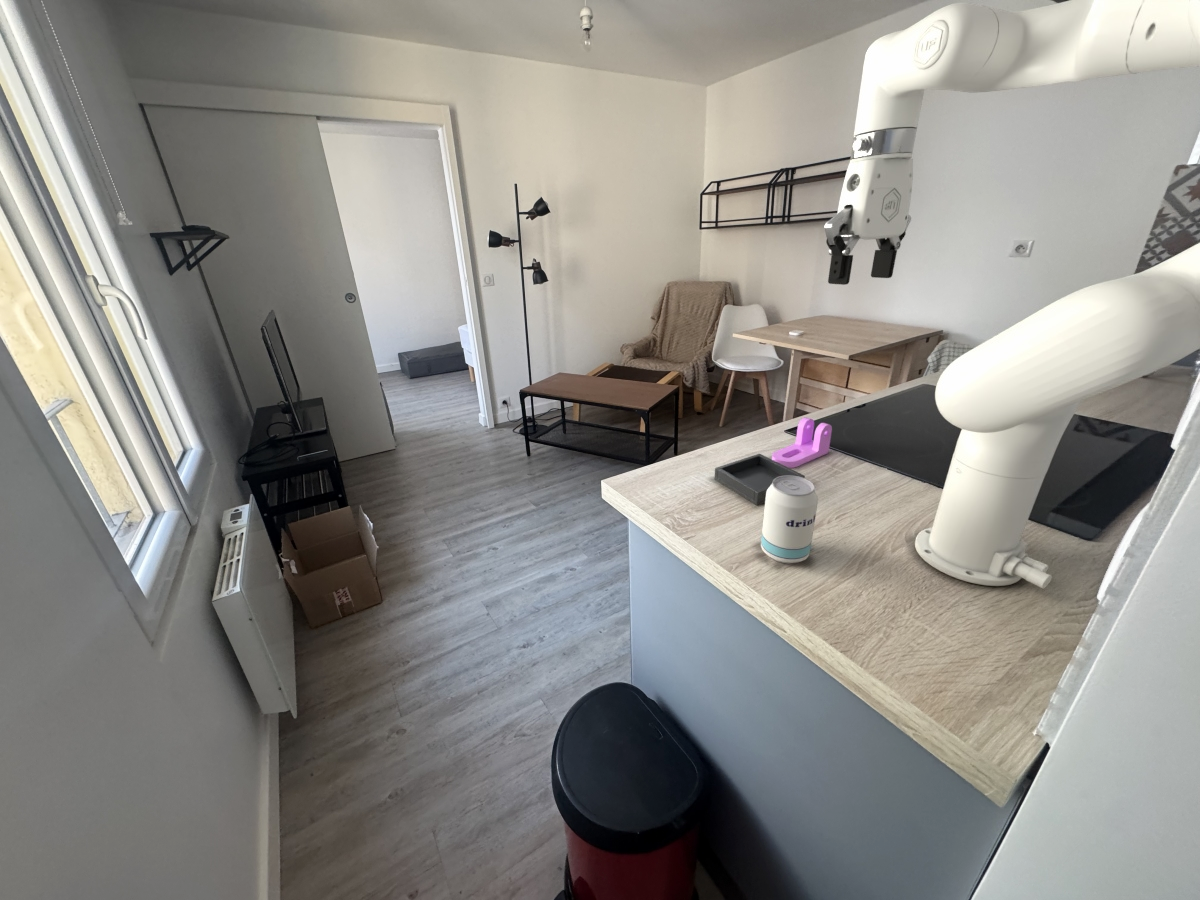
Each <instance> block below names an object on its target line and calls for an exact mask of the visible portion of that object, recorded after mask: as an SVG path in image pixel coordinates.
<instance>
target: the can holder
mask: <svg viewBox="0 0 1200 900" xmlns="http://www.w3.org/2000/svg"><path fill="white" fill-rule="evenodd" d="M785 475H792V476H799V477H802V478H805V479H806V475H804V474H802V473H801V472H798V471H796V470H795V469H793V468H788V467H786V466H784V465H782V464H780V463H778V462H776V461H774V460H772V458H769V457H768V456H765V455H764V454H761V453H757V454H755V455H751V456H747V457H745V458H741V459H739V460H738V459H737V460H736V461H732V462H729V463H727V464H722V465H719V466H717V467H715V468H714V480H715V481H717V482H718V483H720V484H721V485H723V486H724V487H727V488H728V490H731V491H733V492H734V493H735V494H737V495H739V496H741V497H743V499H745V500H747V501H749V502H751V503H752V504H754V505H755V506H760V505H762V504H765V500H766V491H767V489H768V488H769V487H770V486H771V484H772V482H773V480H774V479H775V478H777V477H779V476H785Z"/></svg>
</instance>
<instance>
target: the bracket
mask: <svg viewBox="0 0 1200 900" xmlns="http://www.w3.org/2000/svg"><path fill="white" fill-rule="evenodd" d="M814 428H815V420H814V419H812V418H809V417H807V416H804V417H803V418H801V419H800V420H799V422H798V424H797V429H796V437H795V442H794V443H792V444H790V445H788V446H785V447H783V448H780V449H778V450H776V451H774V452H772V455H771V459H772V460H774V461H776V462H778V463H780V464H782V465H784V466H786V467H788V468H790V469H793V468H797V467H800V466H802V465H804V464H806V463H809V462H811V461H814V460H815V459H817V458H820V457H822V456H824V455H826V454H829V451H830V444H831V439H832V433H833V427H832V425H831V424H829V423H825V422H820V423H819V424H818V425H817V426H816V428H815V429H814ZM814 430H815V431H814Z"/></svg>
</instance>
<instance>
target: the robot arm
mask: <svg viewBox="0 0 1200 900" xmlns="http://www.w3.org/2000/svg"><path fill="white" fill-rule="evenodd" d="M1194 67H1196V68H1199V67H1200V0H1066V1H1062V2H1057V3H1053V4H1049V5H1044V6H1043V5H1042V6H1040V7H1034V8H1029V9H1024V10H1017V11H1009V10H1004V9H1001V8H995V7H991V6H986V5H980V4H977V3H972V2H955V3H950V4H948V5H945V6H943V7H941V8H938V9H937V10H935V11H933V12H932V13H930V14H928V15H927V16H925V17H924V18H922V19H920V20H919V21H918V22H915V23H914V24H912V25H911V26H908V28H906V29H901V30H897V31H893V32H890V33H888V34H885V35H883V36H880V37H879V38H877V39H876V40H874V41H873V42H872V43H871V44H870V45H869V47H868V49H867V51H866V53H865V55H864V61H863V68H862V72H861V73H862V74H861V81H860V88H859V96H858V103H857V108H856V109H857V110H856V117H855V123H854V132H853V138H852V145H851V151H850V152H851V153H850V159H849V163H848V166H847V169H846V172H845V177H844V180H843V184H842V189H841V192H840V196H839V202H838V208H837V213H836V214H835V215H834V216H833V217H832V218H830V219H829V220H828V221H826V222H825V224H824V232H825V238H826V241H825V242H826V245H827V247H828V249H829V250H828V255H829V256H831V257H830V264H829V271H828V279H827V283H828V284H830V285H842V286H845V285H848V284H849V283H850V280H851V273H852V266H853V260H854V254H851V253H852V251H853V249H855V247H856V245H857V243H858V242H859V241H860V240H864V241H867V240H870V241H871V240H875V241H876V244H877V247H878V249H874V255H873V259H872V266H871V272H870V277H871V278H874V279H875V278H876V279H878V278H879V279H891V278H892V277H893V275H894V274H893V273H894V268H895V263H896V259H897V254H898V250H899V249H900V248H901V244H902V243H901V242H902V240H903V239H904V238H905V236H906V231H907V229H908V227H909V226H910V223H911V221H912V217H911V215H910V207H911V198H912V191H913V180H914V178H913V177H914V158H912V157H913V152H914V147H915V141H916V136H917V132H918V131H917V130H918V125H919V120H920V115H921V110H922V105H923V99H924V93H925V90H931V91H932V90H933V91H950V92H952V91H953V92H961V93H971V94H972V93H974V94H975V93H990V92H991V93H992V92H997V91H998V92H1001V91H1009V90H1018V89H1027V88H1028V89H1029V88H1035V87H1043V86H1050V85H1057V84H1063V83H1071V82H1072V83H1073V82H1074V83H1075V82H1076V83H1078V82H1084V81H1087V80H1093V79H1102V78H1103V79H1104V78H1110V77H1118V76H1128V75H1136V74H1140V73H1149V72H1159V71H1167V70H1176V69H1177V70H1178V69H1187V68H1194ZM845 242H846V243H845ZM1198 350H1200V242H1198V243H1196V244H1194V245H1192V246H1191V247H1188V248H1187V249H1185V250H1183V251H1181V252H1180V253H1177V254H1176V255H1173V256H1171V257H1170V258H1168V259H1166V260H1164V261H1162V262H1160V263H1158V264H1156V265H1154V266H1152V267H1150V268H1147V269H1144V270H1143V271H1141V272H1137V273H1134V274H1131V275H1127V276H1124V277H1119V278H1115V279H1110V280H1106V281H1101V282H1098V283H1094V284H1092V285H1089V286H1086V287H1082V288H1081V289H1078V290H1075V291H1073V292H1071V293H1069V294H1067V295H1065V296H1063V297H1061V298H1059V299H1057V300H1055V301H1053V302H1052V303H1049V304H1048V305H1046V306H1044V307H1042V308H1041V309H1039V310H1038V311H1036V312H1034V313H1032V314H1030V315H1029V316H1027V317H1026V318H1024V319H1022V320H1020V321H1019V322H1017V323H1015V324H1013V325H1012V326H1010V327H1008V328H1006V329H1004V330H1003V331H1001V332H999V333H997V334H996V335H994V336H992V337H991V338H989V339H987V340H985V341H984V342H982V343H980V344H979V345H977V346H975V347H973V348H972V349H970V350H968V351H967V352H964V353H963V354H961V355H960V356H958V357H957V358H956V359H954V360H952V362H951V363H950V364H948V365H947V366H946V368H945V369H944V370H943V372H942V373H941V374H940V376H939V378H938V380H937V383H936V386H935V390H934V391H935V392H934V400H935V405H936V407H937V410H938V412H939V413H940V415H941V416H942V417H943V419H944V420H946V421H947V422H948V423H950V424H951V425H952V426H955V427H957V428H959V429H961V430H960V433H959V436H958V438H957V441H956V444H955V448H954V451H953V454H952V458H951V461H950V464H949V468H948V472H947V474H946V478H945V482H944V485H943V489H942V491H941V496H940V500H939V503H938V506H937V510H936V513H935V517H934V520H933V522H932V523H933V524H932V526H931V527H927V528H924V529H923V530H921V531H919V532H918V534H917V535H916V537H915V541H914V547H915V550H916V552H917V554H918V555H919V556H920V558H921V559H922V560H924V562H926V563H927V564H929V566H931V567H933V568H934V569H936V570H937V571H939V572H940V573H943V574H945V575H947V576H949V577H951V578H955V579H957V580H960V581H963V582H967V583H971V584H976V585H981V586H990V587H1003V586H1009V585H1012V584H1016V583H1018V582H1019V581H1020V580H1022V579H1024V580H1025V581H1027V582H1028V583H1031V584H1032V585H1035V586H1036V587H1039V588H1040V589H1045V588H1046V587H1047V586H1048V585H1049V584H1050V582H1051V580H1052V575H1051V574H1050V573H1047V571H1048V570H1049V567H1050V565H1049V564H1046V563H1044V562H1042V561H1039V560H1036V559H1034V558H1032V557H1029V554H1028V553H1026V550H1027V547H1028V544H1029V543H1028V542H1027V541H1023V540H1021V538H1022V536H1023V534H1024V531H1025V529H1026V525H1027V523H1028V521H1029V518H1030V516H1031V513H1032V510H1033V508H1034V505H1035V503H1036V500H1037V497H1038V495H1039V492H1040V490H1041V487H1042V485H1043V483H1044V479H1045V477H1046V475H1047V473H1048V471H1049V468H1050V466H1051V463H1052V460H1053V458H1054V455H1055V453H1056V450H1057V448H1058V446H1059V443H1060V441H1061V439H1062V437H1063V435H1064V433H1065V431H1066V429H1067V427H1068V426H1069V424H1070V422H1071V419H1073V417H1074V415H1075V413H1076V411H1077V410H1078V408H1079V407H1080V404H1081V403H1082V401H1084V400H1087V399H1090V398H1093V397H1094V396H1097V395H1100V394H1102V393H1104V392H1107V391H1110V390H1113V389H1114V388H1117V387H1119V386H1122V385H1125V384H1127V383H1129V382H1132V381H1134V380H1137V379H1140V378H1141V377H1142V376H1144V375H1147V374H1149V373H1152V372H1154V371H1155V372H1156V371H1159V370H1162V369H1163V368H1166V367H1169V366H1171V365H1172V364H1174V363H1176V362H1178V361H1180V360H1183V359H1184V358H1186V357H1187V356H1189V355H1191V354H1192V353H1194V352H1195V351H1196V352H1197V351H1198ZM1142 378H1143V377H1142Z"/></svg>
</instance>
